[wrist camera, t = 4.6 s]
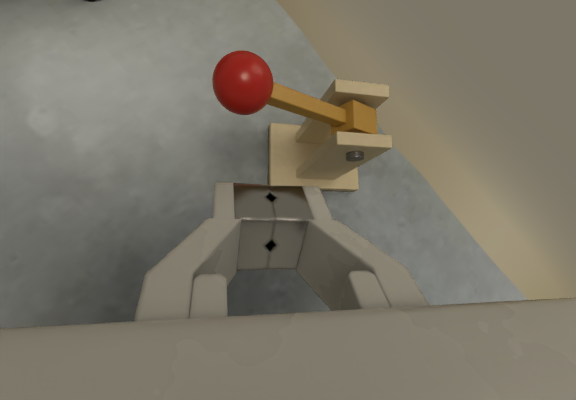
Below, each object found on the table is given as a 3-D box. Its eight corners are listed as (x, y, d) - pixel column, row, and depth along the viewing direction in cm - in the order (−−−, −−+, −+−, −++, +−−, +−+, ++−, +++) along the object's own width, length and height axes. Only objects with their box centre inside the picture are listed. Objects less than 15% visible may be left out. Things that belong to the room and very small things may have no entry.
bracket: (268, 188, 34) (299, 155, 22) (268, 126, 35) (297, 61, 23) (354, 191, 36) (426, 163, 24) (351, 133, 37) (420, 76, 25)
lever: (201, 114, 19) (229, 91, 16) (203, 59, 19) (231, 27, 17) (348, 153, 27) (384, 142, 24) (347, 113, 27) (382, 97, 25)
